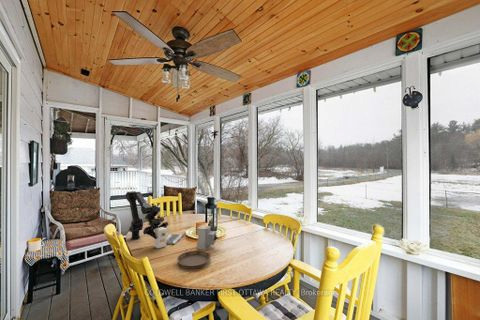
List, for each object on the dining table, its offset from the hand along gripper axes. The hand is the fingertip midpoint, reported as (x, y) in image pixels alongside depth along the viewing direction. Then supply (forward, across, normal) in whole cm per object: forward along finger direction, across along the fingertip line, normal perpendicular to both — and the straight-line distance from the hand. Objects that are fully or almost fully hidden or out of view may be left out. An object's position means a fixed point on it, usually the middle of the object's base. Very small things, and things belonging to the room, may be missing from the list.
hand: (161, 237), depth 159 cm
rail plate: (+1, +15, +9) cm, 18 cm away
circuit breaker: (+26, +20, -15) cm, 35 cm away
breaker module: (+4, 0, +6) cm, 7 cm away
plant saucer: (+32, -3, -21) cm, 38 cm away
